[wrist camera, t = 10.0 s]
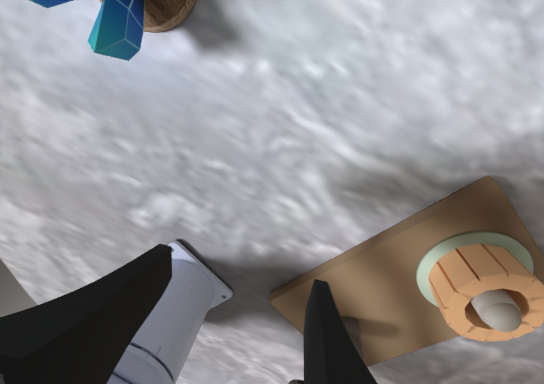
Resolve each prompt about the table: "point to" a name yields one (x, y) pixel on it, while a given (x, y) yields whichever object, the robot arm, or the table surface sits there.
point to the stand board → (416, 274)
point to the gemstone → (129, 23)
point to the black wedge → (296, 382)
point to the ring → (484, 289)
